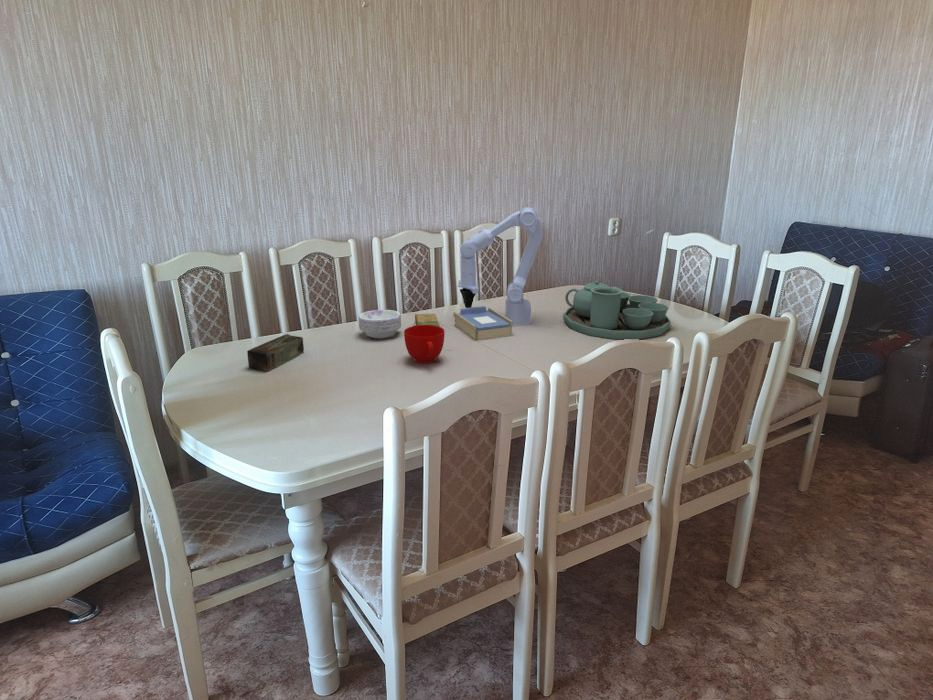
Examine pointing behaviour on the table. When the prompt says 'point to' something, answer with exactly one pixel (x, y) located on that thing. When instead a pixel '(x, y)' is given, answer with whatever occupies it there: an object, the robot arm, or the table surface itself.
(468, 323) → the beige shallow box
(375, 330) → the paper bowls
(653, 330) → the tea set
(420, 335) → the ceramic cup
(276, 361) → the dark brown block
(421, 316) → the carton
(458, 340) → the table surface
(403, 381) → the table surface
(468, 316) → the lid
